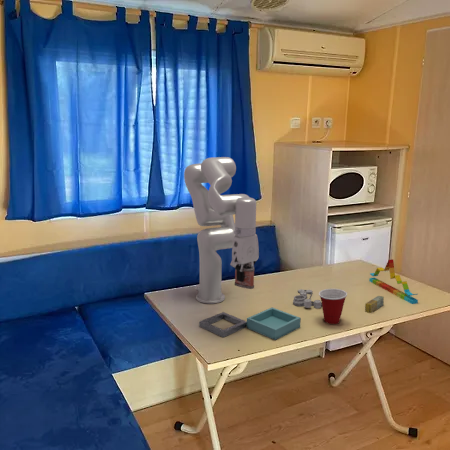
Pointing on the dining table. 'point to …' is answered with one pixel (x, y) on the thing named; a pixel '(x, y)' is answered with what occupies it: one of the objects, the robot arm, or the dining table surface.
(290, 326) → the tray
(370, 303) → the medication box
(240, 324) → the gray square frame
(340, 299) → the plastic cup
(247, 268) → the lighter
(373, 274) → the rainbow zigzag toy
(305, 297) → the pulley system
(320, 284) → the dining table surface
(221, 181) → the robot arm
